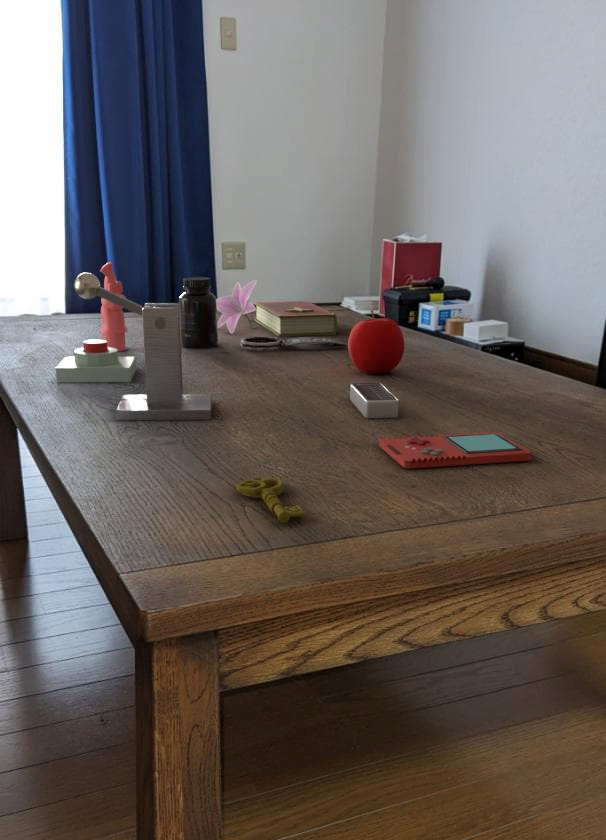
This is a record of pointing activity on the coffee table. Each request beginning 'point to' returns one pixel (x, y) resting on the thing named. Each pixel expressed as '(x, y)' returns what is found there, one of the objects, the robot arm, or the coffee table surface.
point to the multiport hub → (374, 400)
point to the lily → (235, 305)
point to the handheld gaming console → (454, 450)
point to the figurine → (112, 312)
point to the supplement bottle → (198, 314)
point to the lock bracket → (163, 372)
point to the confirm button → (95, 346)
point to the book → (295, 318)
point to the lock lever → (102, 292)
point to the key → (269, 496)
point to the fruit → (376, 345)
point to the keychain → (290, 343)
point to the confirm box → (96, 367)
